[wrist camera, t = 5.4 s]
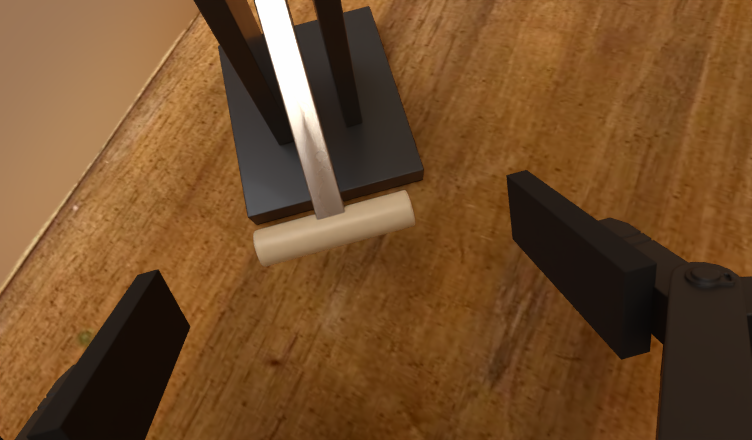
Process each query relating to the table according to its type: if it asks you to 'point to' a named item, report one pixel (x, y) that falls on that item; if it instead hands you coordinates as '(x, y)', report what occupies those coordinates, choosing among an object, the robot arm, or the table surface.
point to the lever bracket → (334, 103)
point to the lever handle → (315, 162)
